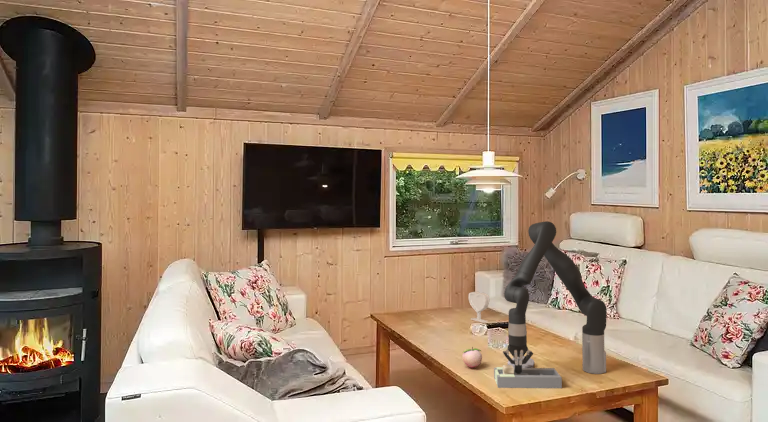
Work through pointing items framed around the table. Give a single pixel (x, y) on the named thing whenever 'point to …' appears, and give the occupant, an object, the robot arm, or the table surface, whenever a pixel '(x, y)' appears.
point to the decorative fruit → (472, 357)
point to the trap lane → (528, 378)
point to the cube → (508, 369)
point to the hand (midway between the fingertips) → (518, 373)
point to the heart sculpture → (478, 304)
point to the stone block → (529, 363)
